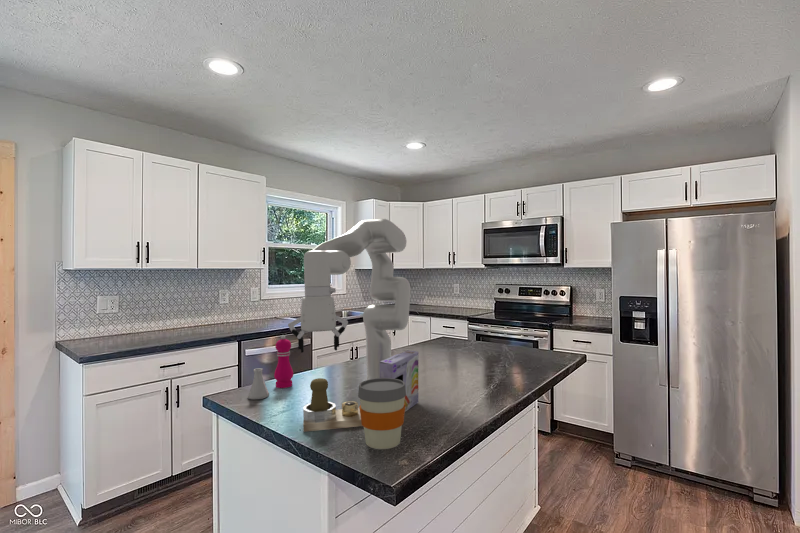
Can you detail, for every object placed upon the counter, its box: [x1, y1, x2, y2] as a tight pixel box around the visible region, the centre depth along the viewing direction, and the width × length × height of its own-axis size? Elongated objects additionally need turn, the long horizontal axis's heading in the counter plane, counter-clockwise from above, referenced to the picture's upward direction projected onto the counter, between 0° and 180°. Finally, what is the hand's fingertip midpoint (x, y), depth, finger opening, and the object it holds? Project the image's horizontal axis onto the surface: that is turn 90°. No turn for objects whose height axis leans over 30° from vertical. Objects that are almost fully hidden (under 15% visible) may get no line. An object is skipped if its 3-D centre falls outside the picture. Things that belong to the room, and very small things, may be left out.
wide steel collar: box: [302, 401, 337, 423], centre depth 119 cm, size 9×9×3 cm
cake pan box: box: [380, 349, 419, 413], centre depth 128 cm, size 19×5×18 cm, turn 151°
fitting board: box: [302, 407, 363, 433], centre depth 120 cm, size 18×10×2 cm, turn 102°
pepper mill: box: [273, 334, 294, 389], centre depth 159 cm, size 7×7×20 cm
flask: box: [247, 367, 270, 400], centre depth 145 cm, size 7×7×10 cm
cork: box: [309, 377, 329, 411], centre depth 119 cm, size 6×6×11 cm
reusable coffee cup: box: [357, 378, 406, 450], centre depth 105 cm, size 13×13×15 cm
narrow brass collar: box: [341, 400, 359, 417], centre depth 121 cm, size 5×5×3 cm
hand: (319, 350), depth 119 cm, fingers open, 9 cm apart
